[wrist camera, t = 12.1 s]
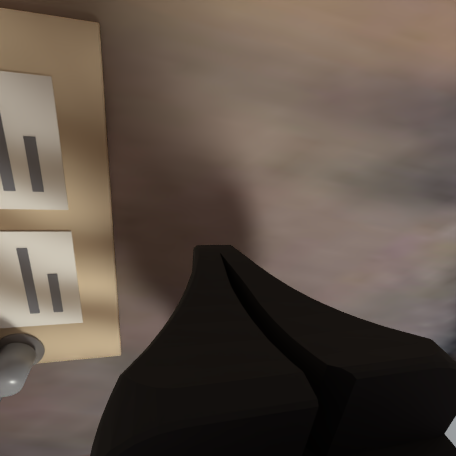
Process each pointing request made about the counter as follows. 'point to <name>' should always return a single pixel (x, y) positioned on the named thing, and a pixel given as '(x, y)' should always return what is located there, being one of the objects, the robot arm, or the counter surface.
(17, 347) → the grey slotted block
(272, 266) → the counter surface
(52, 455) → the counter surface
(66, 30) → the label board
